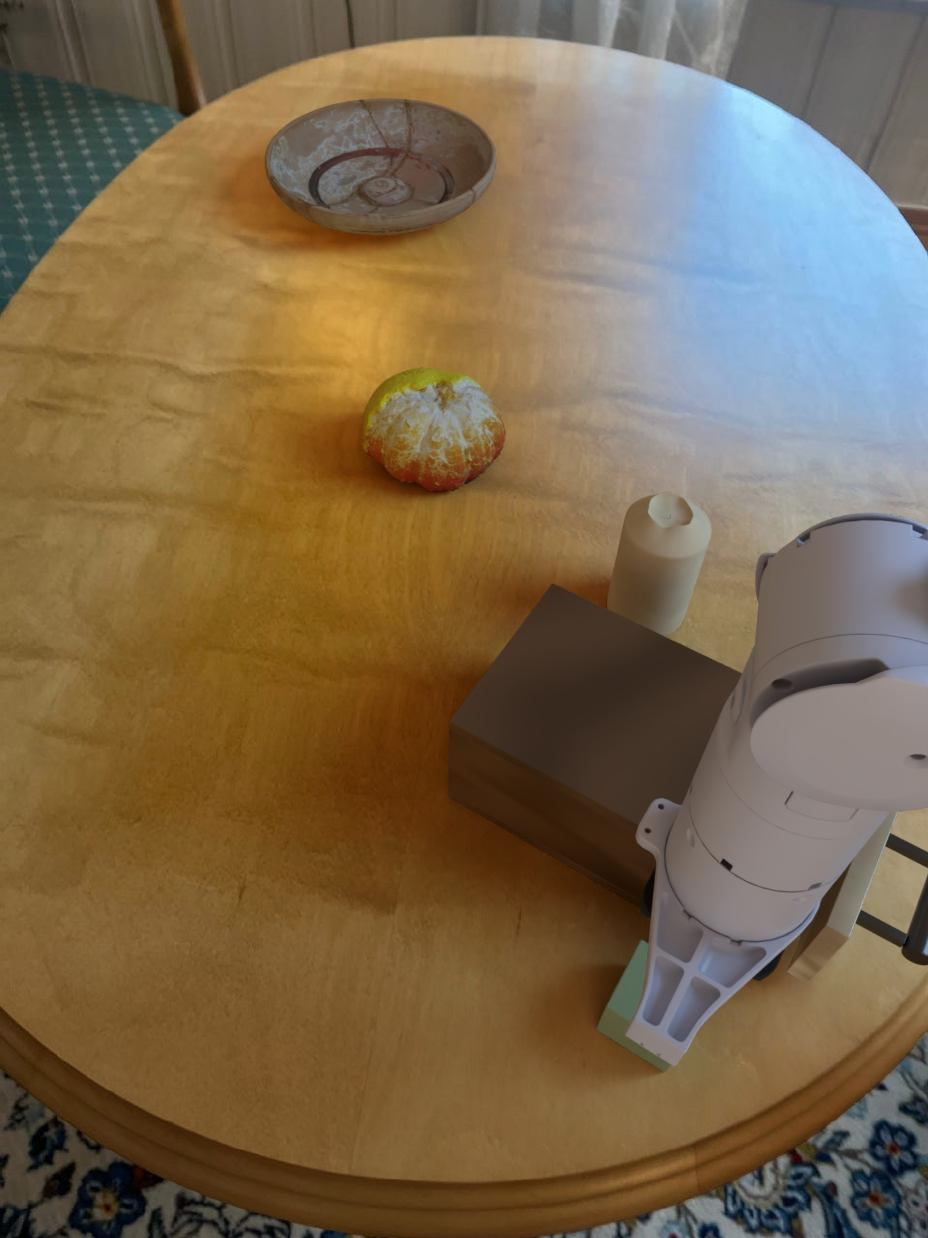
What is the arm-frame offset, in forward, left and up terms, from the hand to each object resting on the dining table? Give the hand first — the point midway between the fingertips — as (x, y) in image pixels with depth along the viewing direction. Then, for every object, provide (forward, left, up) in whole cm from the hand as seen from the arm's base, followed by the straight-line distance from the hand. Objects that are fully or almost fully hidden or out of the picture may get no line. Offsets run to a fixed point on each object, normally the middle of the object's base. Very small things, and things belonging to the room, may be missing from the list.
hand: (690, 950), depth 44 cm
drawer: (-2, -10, -9) cm, 14 cm away
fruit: (+33, -30, -10) cm, 45 cm away
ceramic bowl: (+59, -60, -10) cm, 85 cm away
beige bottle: (+12, -25, -10) cm, 29 cm away
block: (0, 0, -10) cm, 10 cm away
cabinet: (+9, -11, -10) cm, 17 cm away
